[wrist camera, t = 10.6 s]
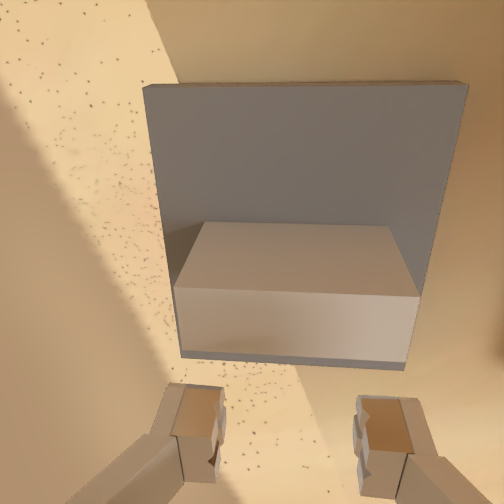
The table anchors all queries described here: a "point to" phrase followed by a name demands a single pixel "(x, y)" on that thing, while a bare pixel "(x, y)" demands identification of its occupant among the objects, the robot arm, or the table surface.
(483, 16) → the table surface
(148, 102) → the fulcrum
